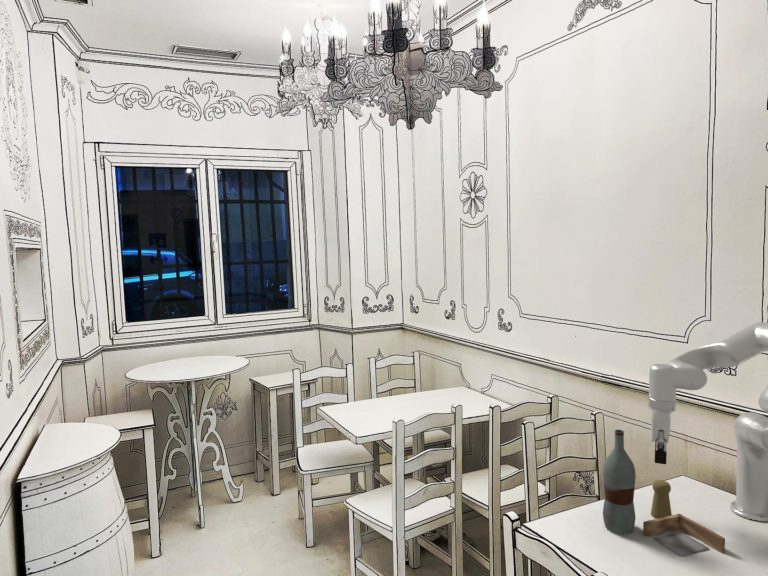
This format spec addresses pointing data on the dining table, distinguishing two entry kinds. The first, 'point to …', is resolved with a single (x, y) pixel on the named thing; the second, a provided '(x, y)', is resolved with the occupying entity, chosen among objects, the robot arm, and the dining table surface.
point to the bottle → (619, 489)
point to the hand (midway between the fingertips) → (660, 457)
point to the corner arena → (683, 535)
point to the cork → (661, 499)
